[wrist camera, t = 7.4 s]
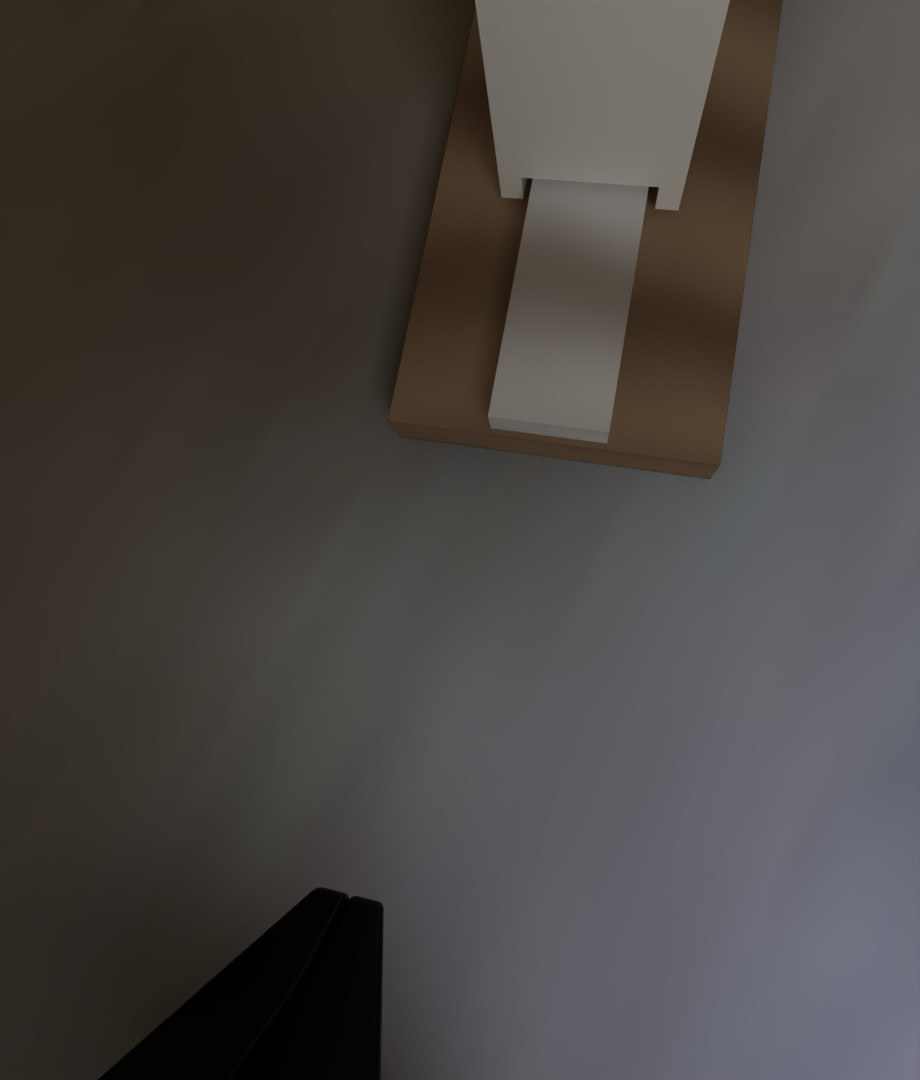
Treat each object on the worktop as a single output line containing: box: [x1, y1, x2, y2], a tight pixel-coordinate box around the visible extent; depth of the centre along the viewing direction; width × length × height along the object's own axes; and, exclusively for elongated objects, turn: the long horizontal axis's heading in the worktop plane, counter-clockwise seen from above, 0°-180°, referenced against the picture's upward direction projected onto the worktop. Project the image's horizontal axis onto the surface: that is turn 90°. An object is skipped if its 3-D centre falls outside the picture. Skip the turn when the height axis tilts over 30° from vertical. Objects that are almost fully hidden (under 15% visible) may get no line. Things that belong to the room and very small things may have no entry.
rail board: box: [388, 0, 783, 479], centre depth 23 cm, size 21×10×2 cm, turn 170°
